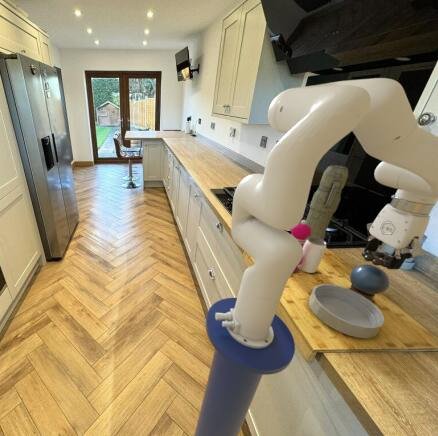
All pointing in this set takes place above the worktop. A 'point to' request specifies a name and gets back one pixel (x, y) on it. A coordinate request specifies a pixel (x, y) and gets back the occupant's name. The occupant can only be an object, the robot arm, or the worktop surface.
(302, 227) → the pepper mill
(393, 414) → the worktop surface
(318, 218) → the moai statue figurine
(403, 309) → the worktop surface
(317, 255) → the can
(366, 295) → the ball stand
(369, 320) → the bowl
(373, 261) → the chocolate capsule cluster
